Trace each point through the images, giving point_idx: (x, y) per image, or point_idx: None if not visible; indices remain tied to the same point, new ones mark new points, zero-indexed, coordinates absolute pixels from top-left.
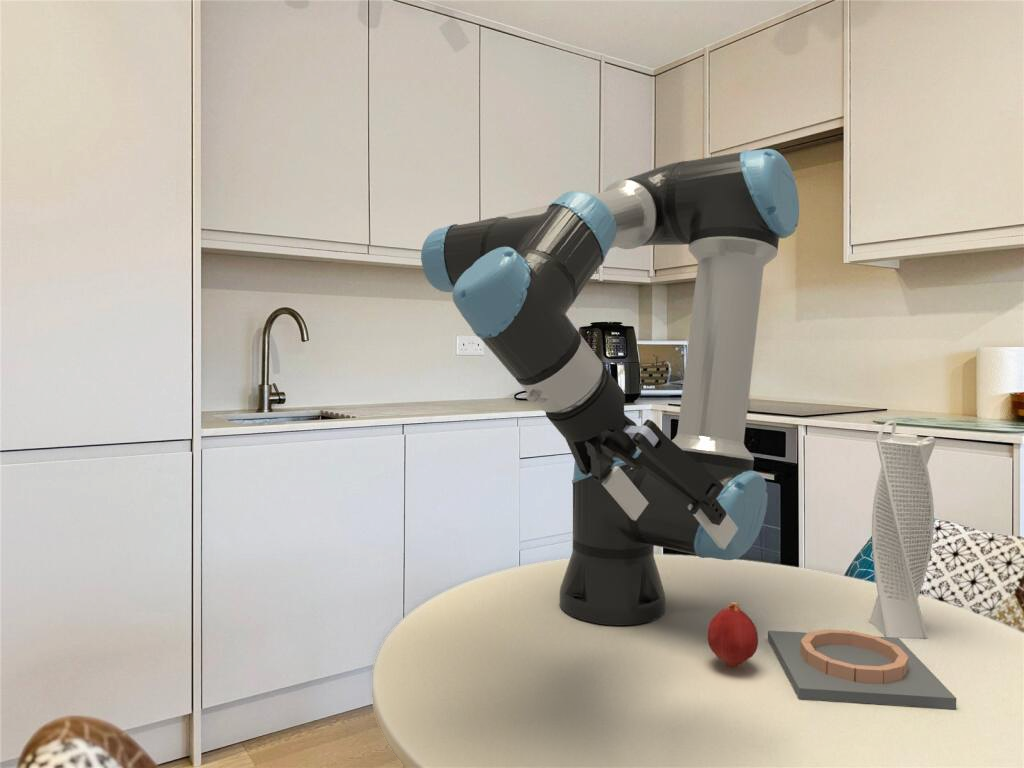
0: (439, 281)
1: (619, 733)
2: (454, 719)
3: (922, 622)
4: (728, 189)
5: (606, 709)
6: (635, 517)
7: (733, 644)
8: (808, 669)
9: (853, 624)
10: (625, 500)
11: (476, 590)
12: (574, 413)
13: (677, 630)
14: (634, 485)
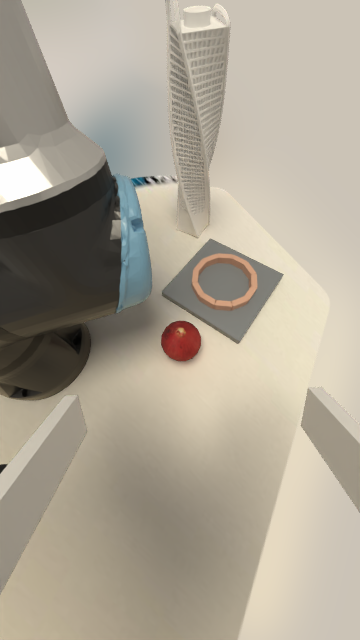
0: None
1: (227, 516)
2: None
3: (209, 217)
4: None
5: (189, 497)
6: (84, 433)
7: (195, 353)
8: (220, 315)
9: (174, 238)
10: (55, 475)
11: None
12: None
13: (114, 337)
14: (38, 447)
